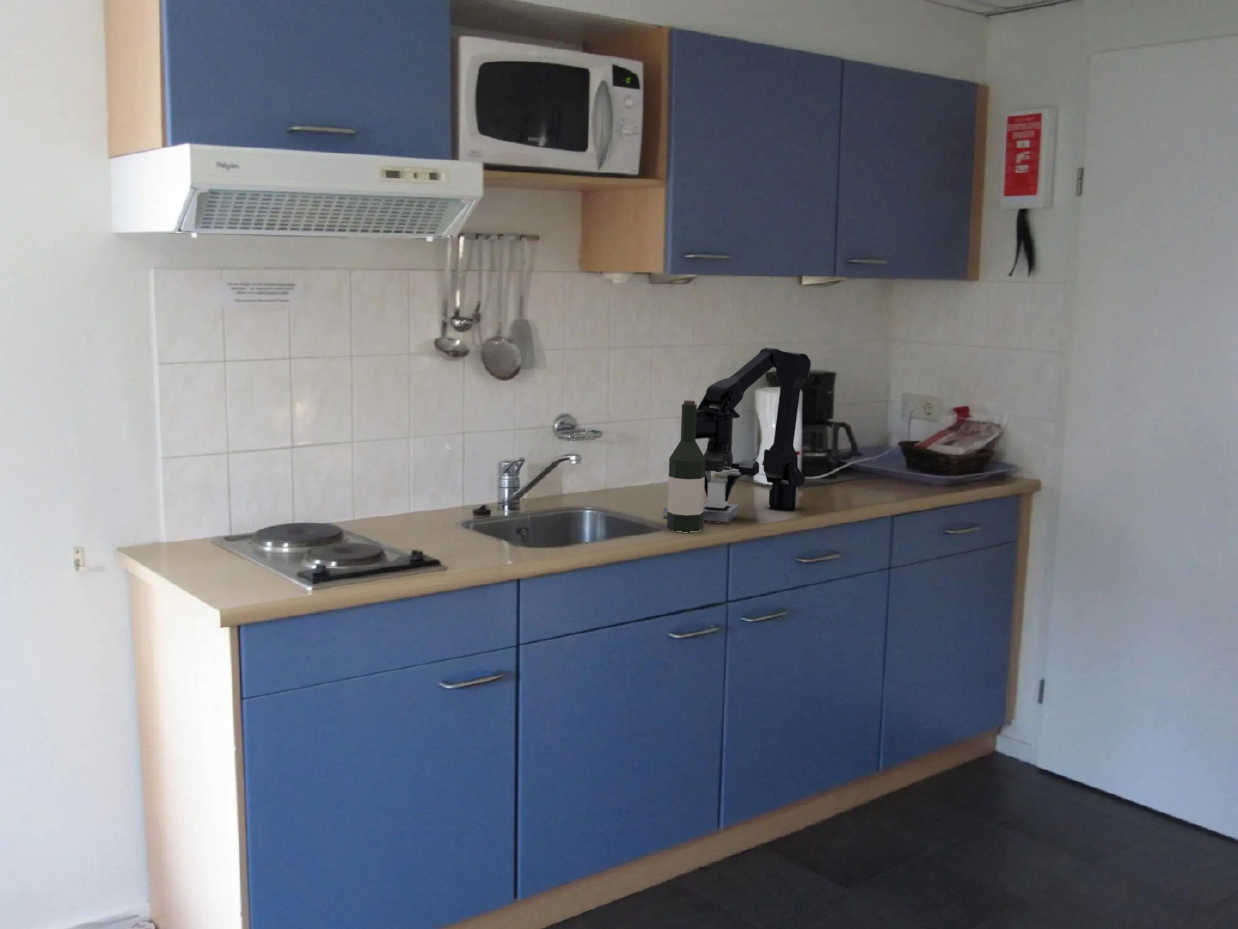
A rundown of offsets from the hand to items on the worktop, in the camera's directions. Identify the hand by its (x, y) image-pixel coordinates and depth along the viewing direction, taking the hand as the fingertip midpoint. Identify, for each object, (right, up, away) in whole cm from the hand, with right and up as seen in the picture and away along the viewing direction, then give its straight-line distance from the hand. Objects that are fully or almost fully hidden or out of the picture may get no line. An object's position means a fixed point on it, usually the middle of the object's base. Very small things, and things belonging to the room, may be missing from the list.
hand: (717, 500), depth 296 cm
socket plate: (-4, -4, +2) cm, 6 cm away
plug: (0, -1, 0) cm, 1 cm away
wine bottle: (-9, -6, -13) cm, 17 cm away
